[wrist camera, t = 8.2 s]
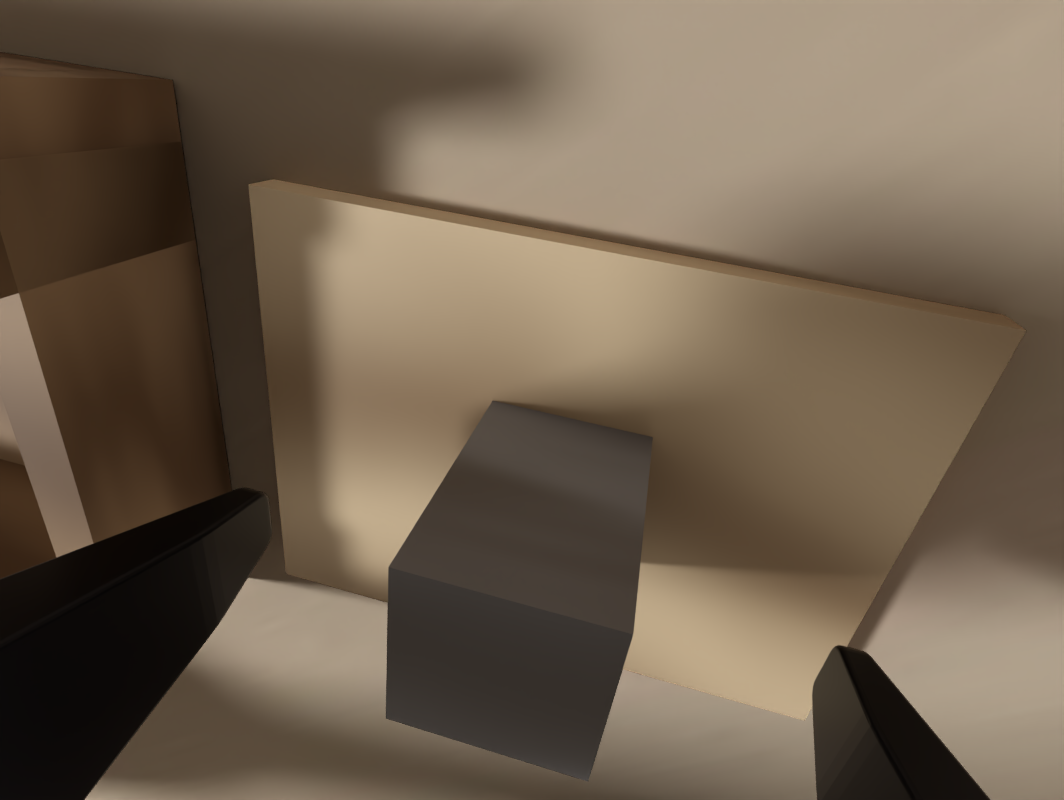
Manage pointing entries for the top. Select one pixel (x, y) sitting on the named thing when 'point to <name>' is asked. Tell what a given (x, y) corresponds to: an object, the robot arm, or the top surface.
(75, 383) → the walnut box
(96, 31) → the top surface
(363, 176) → the top surface
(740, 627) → the oak lid
